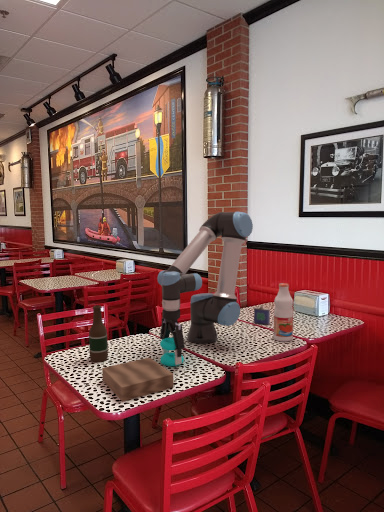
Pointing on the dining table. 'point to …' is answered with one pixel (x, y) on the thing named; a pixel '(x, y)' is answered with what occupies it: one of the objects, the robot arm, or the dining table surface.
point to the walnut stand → (137, 378)
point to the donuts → (169, 357)
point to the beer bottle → (98, 337)
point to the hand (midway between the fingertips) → (172, 359)
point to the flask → (261, 316)
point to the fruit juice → (283, 314)
